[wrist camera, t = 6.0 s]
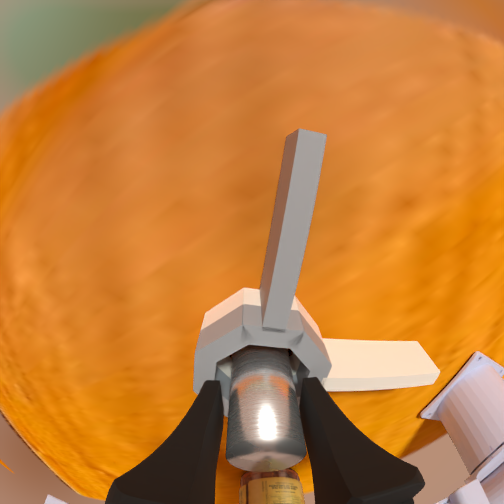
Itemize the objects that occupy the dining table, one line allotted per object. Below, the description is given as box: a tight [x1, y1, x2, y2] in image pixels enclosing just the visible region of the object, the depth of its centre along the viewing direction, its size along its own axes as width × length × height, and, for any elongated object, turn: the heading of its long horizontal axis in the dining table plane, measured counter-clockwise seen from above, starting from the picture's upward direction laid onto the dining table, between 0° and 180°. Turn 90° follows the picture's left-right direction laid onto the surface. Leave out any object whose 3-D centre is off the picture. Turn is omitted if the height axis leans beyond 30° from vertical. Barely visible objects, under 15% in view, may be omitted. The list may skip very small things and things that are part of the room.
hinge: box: [193, 129, 440, 417], centre depth 13 cm, size 14×14×4 cm
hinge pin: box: [226, 344, 306, 472], centre depth 12 cm, size 3×3×8 cm
